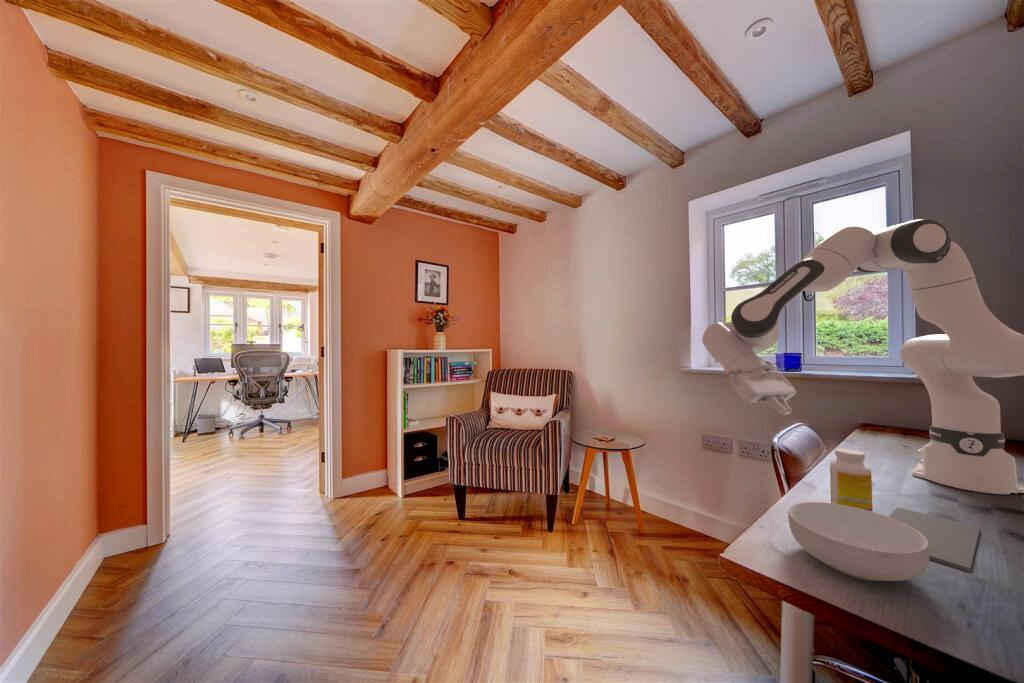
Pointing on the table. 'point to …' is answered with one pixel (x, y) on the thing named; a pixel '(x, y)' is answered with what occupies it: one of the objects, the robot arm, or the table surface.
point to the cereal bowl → (859, 541)
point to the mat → (943, 537)
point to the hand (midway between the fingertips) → (787, 413)
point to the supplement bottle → (851, 480)
